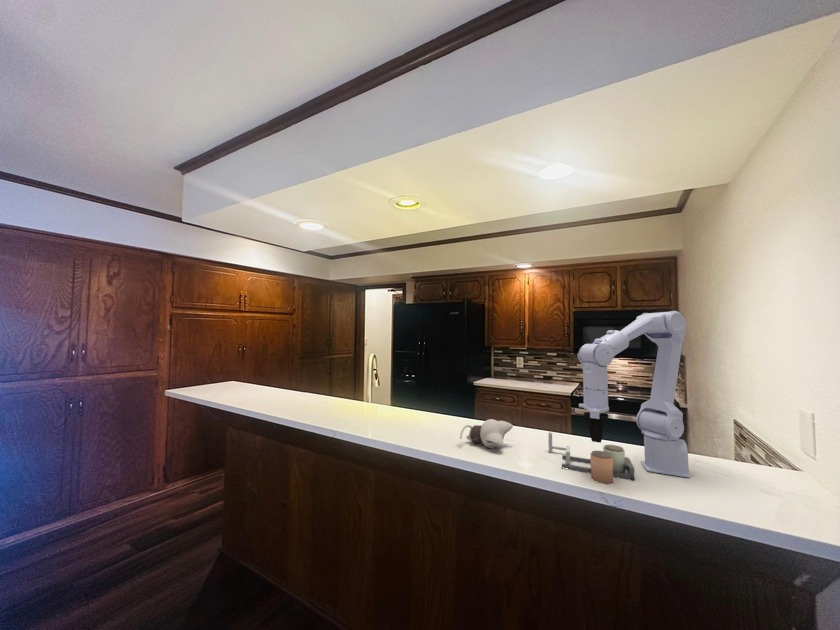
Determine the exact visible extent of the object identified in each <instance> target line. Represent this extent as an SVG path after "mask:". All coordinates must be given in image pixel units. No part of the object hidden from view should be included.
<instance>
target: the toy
mask: <svg viewBox="0 0 840 630" xmlns="http://www.w3.org/2000/svg"><path fill="white" fill-rule="evenodd" d="M466 428H470V430H469V433H468V435H467V436H465V438H466V439H467V440H469V442H471V443H473V444H475V445H477V444H483V445H484V446H485V447H486V448H488V450H490V449H492V448H493V449H494V448H496V447H498V446H504V438H505V435H506V434H507V433H508V432H510V431H511V430H512V428H514V425H513V424H512V423H509V422H507V421H505V420H495V419H493V418H492V419H491V418H490V419H487V420H485V421H484V422H482V425H476V424H474V425H473V426H472V425H470V424H465V425H464V426H463V427H462V428H461V431H460V433H459V439H460V440H461V439H463V433H464V431H465V430H466Z"/></svg>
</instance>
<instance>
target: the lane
mask: <svg viewBox="0 0 840 630" xmlns="http://www.w3.org/2000/svg"><path fill="white" fill-rule="evenodd" d="M561 457H562V460H563V459H566V454H565V455H564V454H562V456H561ZM570 460H572V461H571V462H575V461H577V462H576V463H581V462H583V464H588V463H590V465H591V458H586V457H578V456H572V455H570ZM562 467H564V468H568V469H567V470H569V469H572V470H571V471H575V470H578V471H577V472H581V471H583V472H582V473H587V472H589V473H588V474H591V467H587V466H586V467H585V466H582V465H581V466H580V465H575V464H570V465H569V464H566V463H563V462H562V463H561V468H562ZM625 469H626V470H625V474H624V473H618V472H613V478H617V477H619V478H618V479H623V478H624V479H623V480H628V479H630V480H629V481H634V480H635V477H636V476H635V467H634V465H633V463H632V461H631V459H630V458H629V457H626V456H625Z"/></svg>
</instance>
